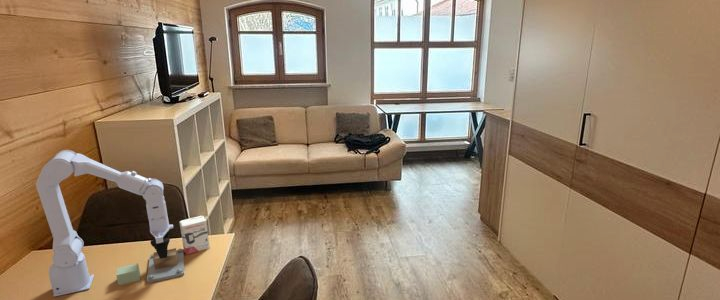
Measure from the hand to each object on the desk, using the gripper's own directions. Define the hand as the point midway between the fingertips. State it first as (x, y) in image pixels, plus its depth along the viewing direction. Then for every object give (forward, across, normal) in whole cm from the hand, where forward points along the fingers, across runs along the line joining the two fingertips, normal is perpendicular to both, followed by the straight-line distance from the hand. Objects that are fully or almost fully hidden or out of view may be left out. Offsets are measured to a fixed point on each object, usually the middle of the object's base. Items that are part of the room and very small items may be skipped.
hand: (163, 251), depth 135 cm
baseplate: (+6, 0, 0) cm, 6 cm away
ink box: (+6, +8, -10) cm, 14 cm away
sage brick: (+6, -3, +11) cm, 13 cm away
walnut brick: (+5, 0, 0) cm, 5 cm away
